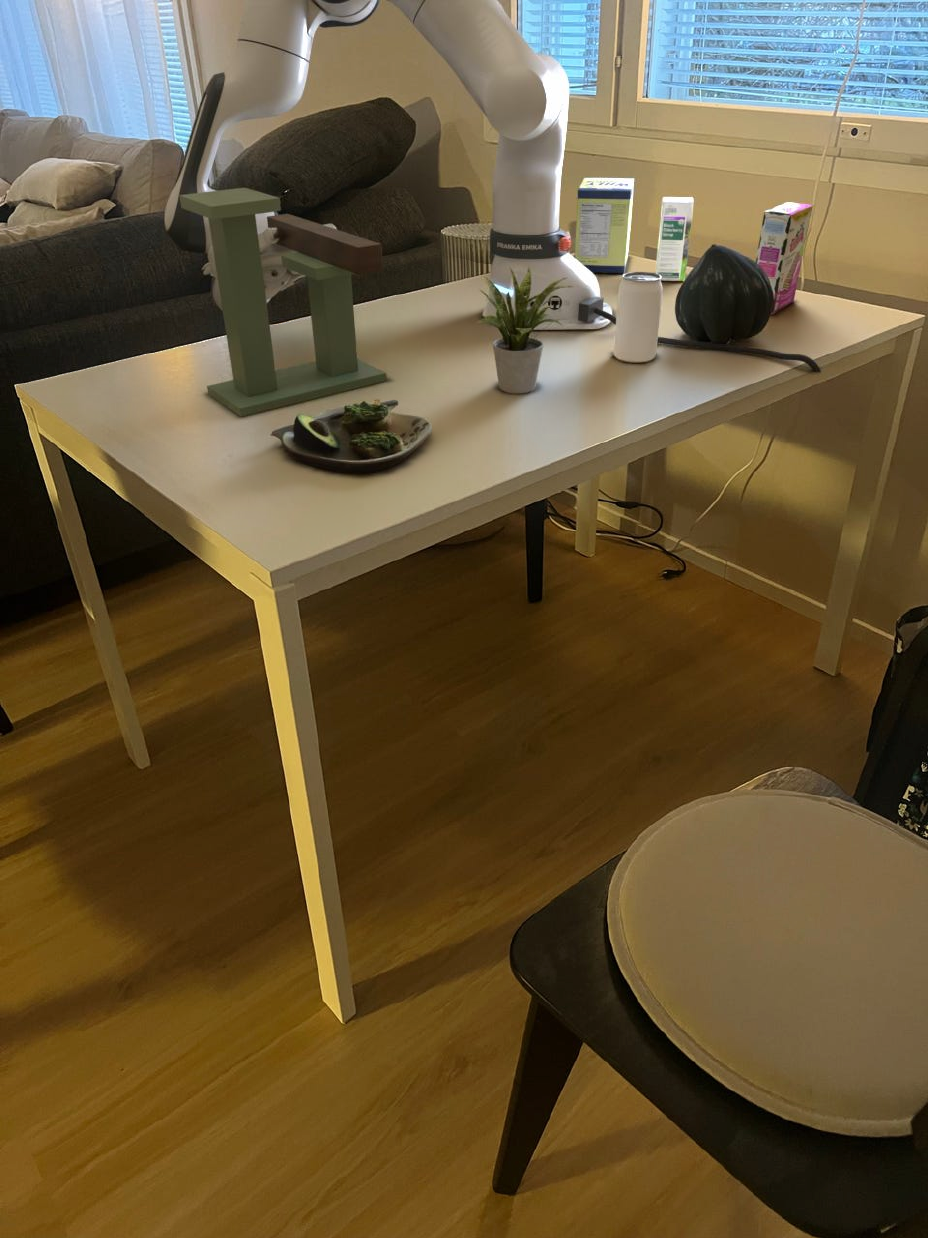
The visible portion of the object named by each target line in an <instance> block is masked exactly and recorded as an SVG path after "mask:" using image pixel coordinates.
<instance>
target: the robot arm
mask: <svg viewBox="0 0 928 1238" xmlns="http://www.w3.org/2000/svg"><path fill="white" fill-rule="evenodd" d="M386 1H387V2H390V3H391V4H392V5H393V6H395V7H396V8H397V9H399V11H400V12H402V14H403V15H404V16H405V17H406V18H407V20H408V21H409V22H410V23H411V24H412V25H413V27H415V29H416V30H417V31H418V32H419V34H421V36H423V38H424V39H425V40H426V41H427V42H428V43H429V44H430V46H432V48H433V49H434V50H435V51H436V52H437V53H438V54H439V56H441V58H442V59H443V60H444V61H445V62H446V64H447V65H448V66H449V67H450V68H451V69H452V71H453V72H454V74H455V76H456V77H457V78H458V79H459V81H460V82H461V84H462V86H463V87H464V88H465V90H466V91H467V93H468V94H469V96H470V97H471V98H472V100H473V101H474V102H475V104H476V105H477V106H478V108H479V109H480V111H481V112H482V113H483V114H484V116H485V117H486V118H487V120H488V122H489V124H490V126H492V128H493V129H494V130H495V131H496V132H497V133H498V137H497V148H496V156H495V163H494V169H493V174H492V228H491V229H490V230H489V237H488V259H489V263H490V275H489V280H490V281H491V282H492V283H493V284H494V285H495V286H496V287H497V288H498V289H499V291H500V293H501V294H502V296H503V299H504V301H505V303H506V305H507V301H506V295H507V293H508V292H509V293H510V297H511V304H512V308H513V312H514V318H515V291H514V283H513V278H512V273H511V270H512V271H513V272H514V275H515V278H516V281H517V283H518V286H519V288H520V286H521V283H522V281H523V278H524V277H525V276H526V275H527V271H528V268H529V269H530V272H531V290H530V295H529V299H530V298H532V297H534V296H536V295H538V294H541V293H542V291H543V290H544V289H545V288H547V287H548V286H549V285H550V284H552V283H553V282H555V281H557V280H560V279H563V278H566V277H568V278H566V279H564V280H562V281H560V282H559V283H557V284H556V285H555V286H554V287H557V286H560V287H561V286H571V287H569V288H560V289H557V290H555V291H553V292H551V293H550V294H549V295H548V296H547V297H546V299H545V300H544V301H543V303H542V305H543V304H544V303H545V302H546V301H548V300H550V299H559V300H551V301H549V302H547V303H545V304H544V305H543V306H542V305H541V306H542V307H541V306H540V308H539V309H540V311H541V310H542V309H543V308H545V307H547V306H551V305H554V306H552V307H549V308H548V309H547V310H546V311H545V312H544V314H547V315H548V316H546V317H545V318H543V319H542V320H545V319H554V320H557V319H566V320H557V321H558V322H560V323H561V324H562V325H560V324H559V323H556V322H552V323H551V322H544V323H541V324H539V325H538V326H537V327H535V328H534V329H533V330H532V331H538V330H539V331H544V330H545V331H547V330H551V331H552V330H553V331H554V330H598V329H601V328H605V327H606V326H608V325H609V324H610V322H611V323H613V325H615V326H616V316H614V315H613V308H612V307H611V306H610V304H608V303H606V302H605V301H604V299H605V298H604V297H601V289H600V285H599V281H598V278H597V276H596V275H595V273H594V272H591V271H589V270H588V269H587V268H586V267H585V266H584V265H582V264H581V263H580V262H579V261H578V260H577V259H576V258H575V256H573V255H572V254H571V253H570V250H571V246H572V240H571V234H570V232H569V231H567V232H566V231H565V230H563V229H562V228H560V227H559V226H560V205H561V204H560V203H561V183H562V171H563V170H562V169H563V163H564V162H563V161H564V154H565V145H566V137H567V136H566V135H567V126H568V113H569V103H570V83H569V78H568V75H567V72H566V71H565V68H563V66H562V65H561V64H560V62H559V61H558V60H557V59H555V58H554V57H553V56H551V55H549V54H546V53H542V52H535V51H534V50H533V48H532V47H531V46H530V45H529V43H528V42H527V40H526V39H525V37H523V35H522V34H521V33H520V31H519V30H518V28H517V27H516V26H515V24H514V22H513V21H512V19H511V18H510V17H509V16H508V13H506V11H505V9H504V8H503V6H502V4H501V3H500V2H499V0H386ZM380 2H381V0H244V4H243V8H242V13H241V15H240V22H239V27H238V31H237V39H236V40H237V41H236V46H235V50H234V53H233V56H232V58H231V61H230V62H229V63H228V65H227V67H226V68H225V69H224V71H223V72H219V73H215V74H213V75H212V77H211V78H210V80H209V81H208V83H207V85H206V86H205V90H204V92H203V95H202V97H201V100H200V103H199V105H198V109H197V112H196V114H195V115H196V116H195V117H194V121H193V125H192V128H191V131H190V134H189V137H188V141H187V144H186V148H185V152H184V154H183V158H182V161H181V164H180V167H179V172H178V175H177V177H176V180H175V183H174V185H173V187H172V191H171V193H170V195H169V197H168V199H167V203H166V205H165V210H164V231H165V232H166V233H167V235H168V237H169V238H170V239H171V241H172V242H173V243H174V244H175V245H176V246H177V247H178V248H179V249H180V250H181V251H182V252H189V253H195V254H207V260H208V262H207V263H205V264H204V265H203V267H202V268H201V273H202V275H204V276H207V275H209V276H210V277H214V281H213V282H214V283H213V286H212V298H213V301H214V303H215V305H216V306H217V307H218V308H219V309H220V310H221V311H222V312H223V310H222V303H221V297H220V290H219V284H218V277H217V271H216V265H215V258H214V252H213V245H212V239H211V232H210V226H209V220H208V218H207V217H205V216H202V215H199V214H197V213H194V212H191V211H188V210H186V209H183V208H181V202H180V196H179V195H186V194H194V193H203V192H211V191H217V190H215V189H213V188H211V187H210V186H209V185H208V182H209V177H210V176H211V172H212V168H213V165H214V162H215V158H216V155H217V152H218V149H219V145H220V142H221V139H222V137H223V134H224V133H225V132H226V130H228V128H229V127H230V126H232V125H234V124H235V123H238V122H242V121H247V120H256V119H264V118H272V117H277V116H281V115H283V114H285V113H287V112H288V111H290V110H292V109H293V108H294V107H295V106H296V105H297V104H298V103H299V102H300V100H301V98H302V96H303V93H304V91H305V86H306V83H307V79H308V72H309V67H310V61H311V60H310V59H311V53H312V47H313V41H314V37H315V34H316V31H317V29H318V27H320V28H323V29H325V28H326V29H327V28H337V27H338V28H341V27H355V26H358V25H361V24H363V23H365V22H367V21H368V20H369V19H370V18H372V16H373V15H374V14H375V13H376V11H377V8H378V6H379V4H380ZM275 215H279V213H278V211H275V212H268V213H260V214H255V216H256V224H257V232H258V240H259V248H260V255H261V263H262V271H263V279H264V286H265V294H266V302H267V304H268V303H269V302H270V301H271V299H272V298H273V297H274V296H276V295H277V294H278V293H279V292H282V291H284V290H286V289H288V288H289V287H291V286H294V285H295V284H299V283H302V282H305V281H308V280H307V276H305V275H303V274H300V273H298V272H295V271H293V270H290V269H288V268H285V267H283V266H282V258H281V255H286V254H292V253H298V252H297V251H294V250H291V249H289V248H286V247H283V246H281V245H278V244H276V243H277V242H278V240H279V239H280V236H279V233H278V230H277V228H276V227H272V228H268V222H267V217H268V216H275ZM323 225H324V226H327V227H330V228H333V229H336V230H338V229H337V226H336V225H334V224H333V223H326V224H323ZM510 268H511V270H510ZM486 294H487V295H488V296H489V297H490V298H491V299H492V300H493V301H494V302H495V303H496V300H495V298H494V295H493V293H492V291H491V289H490V287H489V286H488V289H487V293H486ZM536 299H537V298H535V299H534V300H532V301H530V302H529V303H528V306H527V310H528V309H531V307H532V306H533V304H534V302H535V300H536ZM496 304H497V303H496ZM507 309H508V305H507ZM496 311H497V309H496V308H495V306H494V305H493V304H492V303H491V302H490V301H489V299H488V298H487V297H486V299H485V304H484V308H483V311H482V316H483V318H486V316H495V317H497V316H496ZM508 312H509V309H508ZM537 313H538V312H537ZM509 315H510V314H509ZM549 315H550V316H549ZM531 317H532V316H531ZM530 319H531V318H530ZM542 320H540V321H542ZM502 321H503V320H502ZM529 321H530V320H529ZM503 323H504V322H503ZM528 323H529V322H528ZM550 323H551V324H550ZM504 325H505V323H504ZM527 325H528V324H527ZM546 326H547V327H546ZM545 327H546V328H545ZM544 328H545V329H544ZM657 344H663V345H668V346H675V347H676V346H677V347H683V348H694V349H695V348H698V349H710V350H711V349H712V350H721V351H727V352H736V353H742V354H750V355H756V356H761V357H767V358H772V359H776V360H782V361H798V362H803V363H804V364H806V365H808V366H809V367H810V368H811V370H812V372H814V373H815V372H816V373H822V370H821V367H819V365H818V364H817V363H816V361H815V360H814V359H812V358H811V357H810V356H808V355H805V354H802V353H788V352H787V353H786V352H785V353H784V352H779V351H774V350H769V349H763V348H758V347H751V346H744V345H737V344H731V343H727V344H723V343H713V342H700V341H695V340H685V339H676V338H670V337H663V336H658V341H657Z"/></svg>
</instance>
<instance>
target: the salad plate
mask: <svg viewBox="0 0 928 1238" xmlns="http://www.w3.org/2000/svg"><path fill="white" fill-rule="evenodd" d="M398 406H399V400H396V399H392V400H386V401H382V402H380V399H375V400H374V403H373V404H371V403H368V402H367V401H366V400H362V402H361V403H353V404H352V405H350V404H348V405H344V406H342V407H341V406H340V407H333V408H329V409H327V410H325V411H322V412H321V413H318V414H317V415H315V416H314V417H313V416H310V415H308V414H304V413H300V414H297V415H296V416H295V418H294V421H293V424H290V425H287V426H283V427H281V428H277V429H275V430H272V432H271V433H270V436H273V437H275V438H277V439H278V440H280V442H281V444H282V446H283V447H284V449H285V451H287V452H288V454H289V455H290V456H291V457H292V458H293V459H294V460H295V461H297V462H299V463H300V464H304V465H308V466H311V467H314V468H318V469H321V470H325V471H330V472H335V473H342V474H373V473H377V472H381V471H384V470H387V469H389V468H391V467H393V466H395V465H396V464H399V463H400V462H402V461H404V460H405V459H407V458H408V457H409V455H410V454H411V453H413V451H415V450H416V449H418V448H419V447H421V445H422V444H423V443H424V442H425V441H426V439H427V438H428V437H429V436H430V435H431V434H433V433H432V432H433V425H432V423H430V422H429V420H428V419H426V418H425V417H421V416H418V415H411V414H403V413H396V412H392V411H393V410H394V409H395V408H397V407H398Z"/></svg>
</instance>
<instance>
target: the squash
mask: <svg viewBox="0 0 928 1238" xmlns="http://www.w3.org/2000/svg"><path fill="white" fill-rule="evenodd" d="M773 302H774V294H773V290H772V286H771V284H770V280H769V278H768V276H767V274H766V273H765V271H764V270H763V269H762V268H761V267H760V266H759V265H758V264H757V263H756V260H753V259H752V258H750V257H748V256H746V255H744V254H743V253H741V252H738V251H737V250H735V249H732V248H730V247H728V246H725V245H719V244H716V243H713V244H711V245H710V247H709V248H707V250H706V251H705V252H704V254H702V256H701V257H700V259H699V260H698V262H697V263H696V264H695V266H694V267H693V268H692V269H691V271H690V272H689V273H688V275H687V276H686V277H685V281H682V284H681V285H680V287H679V288H678V290H677V293H676V296H675V302H674V303H675V304H674V314H675V321H676V323H677V325H678V326H679V328H680V329H681V330H682V332H683V333H684V334H686V335H687V336H689V337H691V338H692V339H693V341H700V342H713V343H723V344H730V341H731V340H732V341H733V342H741V341H744V340H749V339H751V338H754V337H755V336H757V335H759V334H760V333H761V332H762V331H764V329H765V328H766V327H767V324H768V323H769V321H770V319H771V316H772V315H771V312H772V308H773Z"/></svg>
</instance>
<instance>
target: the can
mask: <svg viewBox="0 0 928 1238" xmlns="http://www.w3.org/2000/svg"><path fill="white" fill-rule="evenodd" d="M660 279H661V276H660V275H658V274H656V273H655V272H652V271H630V272H626V273H623V274H622V280H621V281H620V283H619V285H618V292H617V293H618V294H617V304H616V316H615V317H616V325H615V328H614V329H615V330H614V340H613V342H614V343H613V356H614V357H615V359H617V360H618V361H621V362H623V363H631V364H644V363H648V362H651V361H653V360H654V358H656V356H657V348H658V343H657V341H658V337H659V332H660V320H661V312H662V301H663V292H664V291H663V290H664V289H663V284H662V281H661V280H660Z"/></svg>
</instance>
